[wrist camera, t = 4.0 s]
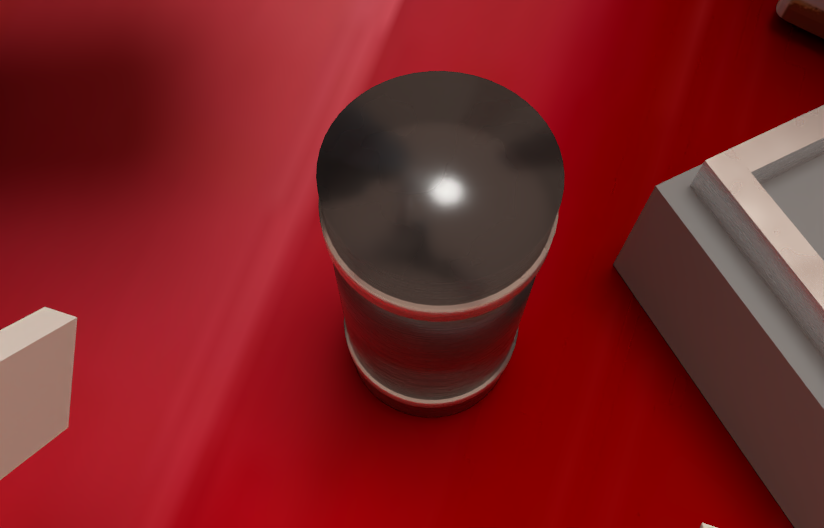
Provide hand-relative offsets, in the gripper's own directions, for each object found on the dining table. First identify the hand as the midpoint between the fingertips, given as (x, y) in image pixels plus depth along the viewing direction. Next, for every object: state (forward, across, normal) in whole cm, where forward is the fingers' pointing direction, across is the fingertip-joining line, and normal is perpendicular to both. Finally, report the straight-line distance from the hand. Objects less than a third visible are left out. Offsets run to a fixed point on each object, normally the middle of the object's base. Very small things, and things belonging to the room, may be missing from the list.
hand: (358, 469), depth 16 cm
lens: (+14, -1, -3) cm, 14 cm away
